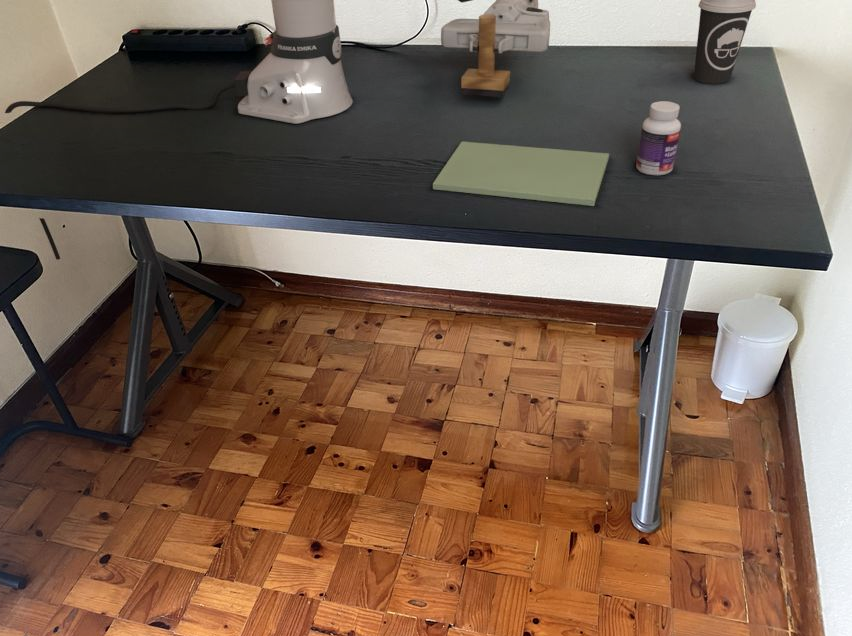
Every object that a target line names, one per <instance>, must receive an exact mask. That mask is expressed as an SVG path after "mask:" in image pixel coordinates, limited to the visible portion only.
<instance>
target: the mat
mask: <svg viewBox="0 0 852 636" xmlns="http://www.w3.org/2000/svg"><path fill="white" fill-rule="evenodd" d="M609 160H610V153H609V152H608V153H607V152H594V151H582V150H570V149H559V148H558V149H557V148H548V147H547V148H546V147H534V146H533V147H532V146H524V145H523V146H522V145H510V144H499V143H497V144H496V143H484V142H474V141H472V142H471V141H461V142H460V143H459V144H458V146H457V147H456V149H455V151H454V152H453V153H452V155H451V156H450V158H449V159H448V161H447V162H446V164H445V165H444V167H443V168H442V169H441V171H440V172H439V173H438V175H437V177H436V178H435V180H434V181H433V182H432V190H434V191H435V190H437V191H445V192H453V193H454V192H455V193H465V194H475V195H484V196H493V197H503V198H511V199H512V198H513V199H521V200H522V199H524V200H531V201H540V202H551V203H561V204H569V205H580V206H587V207H588V206H589V207H594V206H595V204H596V202H597V201H596V200H597V198H598V194H599V191H600V188H601V184H602V182H603V179H604V175H605V172H606V170H607V166H608V163H609Z"/></svg>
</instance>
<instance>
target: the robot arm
mask: <svg viewBox="0 0 852 636" xmlns="http://www.w3.org/2000/svg"><path fill="white" fill-rule="evenodd" d="M457 1H458V2H460V3H462V4H463V3H467V2H472V1H473V0H457ZM271 9H272V15H273V21H274V27H275V30H274V31H273V32H271V33H270V34H269V35H268V37H267V38H264V41H266V42H265V44H264V46H268V45H270V50H269V51H270V52H269V53H268V54H267V55H266V56H265V58H263V59H262V61H260V63H258V64H257V65H256V67H254V68H253V70H245V71H244V70H243V71H240V72H239V73H238V74H237V76H236V77H234V79H233V81H231V82H229V83H226V84H224V85H222V86H220V87H219V88H218V89H217V90H216V91H215V92H214V94H213V96H212V98H211V100H210V101H209V102H207V103H204V104H203V103H202V104H191V103H181V102H180V103H165V104H156V105H148V106H147V105H145V106H133V107H104V106H103V107H102V106H90V105H81V104H71V103H64V102H63V103H62V102H54V101H30V100H29V101H28V100H21V101H16V102H13V103H11V104H9V105H8V106H7V108H6V109H5V111H4V113H5V114H10V113H12V111H14V110H15V109H16V108H18V107H19V108H21V107H33V108H58V109H65V110H71V111H81V112H90V113H105V114H106V113H107V114H127V113H128V114H129V113H146V112H154V111H164V110H175V109H177V110H178V109H179V110H181V109H182V110H207V109H211V108H213V107H214V106H215V105H216V104H217V102H218V100H219V97H220V96H221V95H222V94H223V93H225V92H226V91H228V90H231V89H234V88H235V93H236V96H237V97H243V98H242V99H241V100H240V101H239V103H238V104H237V113H238V114H240V115H244V116H251V117H255V118H262V119H266V120H273V121H278V122H283V123H289V124H297V125H298V124H303V123H306V122H308V121H311V120H316V119H317V120H318V119H321V118H327V117H332V116H334V115H337V114H341V113H343V112H345V111H347V110H348V109H350V107H351V106H352V105H353V102H354V100H353V98H352V95H351V93H350V90H349V87H348V84H347V81H346V78H345V77H346V76H345V72H344V68H343V64H342V57H343V56H342V41H341V35H340V27H339V26H338V24H337V20H336V10H335V2H334V0H271ZM484 14H493V15H495V16H496V34H495V43H494V50H493V53H495V54H501V55H502V54H503V53H508V52H525V53H526V52H529V53H545V52H547V51H548V50H549V48H550V47H549V46H550V38H551V37H550V36H551V20H550V12H549V10H547V9H543V8H539V0H495V1H494V2H493V3H492V4H491V5H490V6H489V7H488V8H487V9H486V10H485V12H484V13H483V14H482V15H484ZM478 38H479V18H456V19H453V20H450V21H448V22H446V23H445V24H444V25H443V26H442V27H441V29H440V44H441V46H442V47H444V48H447V49H448V48H449V49H468V50H469V52H470V53H478ZM45 219H46V218H42V217H39V222H40V224H41V225H42V228H43V230H44V233H45V235H46V237H47V240H48V243H49V245H50V247H51V250H52V253H53V254H54V257H55V259H56V260H57V261H58V260H60V259H61V256H60V254H59V251H58V248H57V245H56V244H55V241H54V238H53V236H52V234H51V231H50V228H49V226H48V225H47V222H46V220H45Z"/></svg>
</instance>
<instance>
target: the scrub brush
mask: <svg viewBox="0 0 852 636" xmlns="http://www.w3.org/2000/svg"><path fill="white" fill-rule="evenodd" d="M483 14H484V13H483ZM483 14H480V15H479V16H478V19H479V38H478V52H477V68H467V70H466V71H465V72H464V74H463V75H462V76H461V80H460V81H461V82H460V83H461V85H460V87H461V89H462V95H470V96H484V97H499V98H503V97H504V95H505V94H506V93H507V91H508V89H509V84H510V82H511V70H501V69H495V64H496V63H495V61H496V53H493V50H494V43H495V34H496V16H495V15H493V14H484V15H483Z"/></svg>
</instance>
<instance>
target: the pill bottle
mask: <svg viewBox="0 0 852 636" xmlns="http://www.w3.org/2000/svg"><path fill="white" fill-rule="evenodd" d="M680 108H681V107H680V105H679V104H678V103H676V102H672V101H667V100H661V101H655V102H652V103H651V104H650V106H649V112H648V115H649V117H647V118H646V119H644V120H643V122H642V125H641V131H640V132H641V133H640V138H639V145H638V151H637V156H636V158H637V159H636V164H635V165H636V166H635V167H636V169H637V171H639V172H640V173H642V174H645V175H648V176H664V175H667V174H670V173H671V172H672V171H673V169H674V165H675V160H676V155H677V150H678V145H679V138H680V135H681V129H682V124H681V121H680V120H679V119H678V116H679V114H680Z"/></svg>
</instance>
